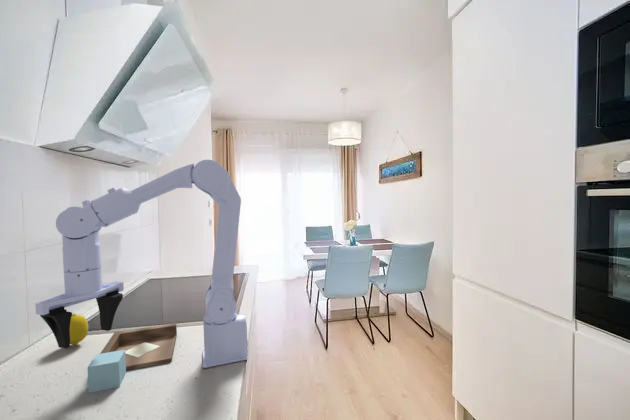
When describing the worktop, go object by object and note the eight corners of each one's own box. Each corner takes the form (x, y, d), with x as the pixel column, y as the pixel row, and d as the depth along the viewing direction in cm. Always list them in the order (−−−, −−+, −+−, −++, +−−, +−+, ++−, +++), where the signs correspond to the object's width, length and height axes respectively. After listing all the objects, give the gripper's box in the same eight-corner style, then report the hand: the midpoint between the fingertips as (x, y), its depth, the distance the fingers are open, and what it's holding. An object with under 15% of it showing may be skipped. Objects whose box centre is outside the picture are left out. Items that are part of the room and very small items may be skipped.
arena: (176, 335, 79) (176, 323, 79) (171, 361, 66) (170, 347, 66) (115, 345, 74) (114, 332, 74) (96, 375, 61) (95, 360, 61)
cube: (126, 373, 62) (125, 349, 62) (119, 387, 58) (118, 361, 57) (97, 378, 61) (96, 354, 60) (88, 393, 56) (87, 367, 56)
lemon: (59, 345, 75) (57, 314, 74) (86, 338, 79) (85, 308, 78) (62, 353, 71) (61, 320, 71) (91, 344, 75) (89, 313, 75)
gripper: (106, 260, 66) (109, 320, 67) (23, 276, 53) (27, 352, 53) (129, 262, 64) (132, 325, 64) (47, 279, 50) (52, 359, 50)
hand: (86, 337), depth 58 cm, fingers open, 7 cm apart
